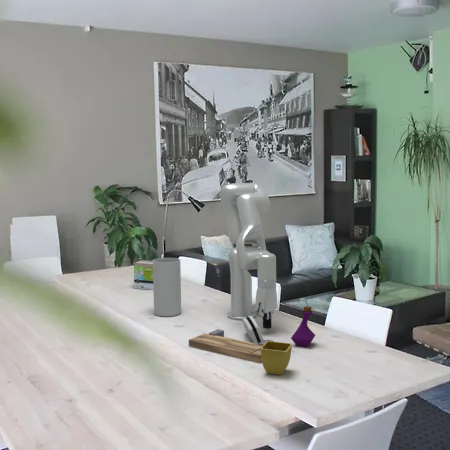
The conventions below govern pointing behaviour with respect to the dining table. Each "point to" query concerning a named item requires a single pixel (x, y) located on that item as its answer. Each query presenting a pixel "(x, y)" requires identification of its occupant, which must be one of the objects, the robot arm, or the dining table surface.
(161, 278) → the cylinder vase
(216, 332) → the locator block
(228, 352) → the wooden plank
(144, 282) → the tea box
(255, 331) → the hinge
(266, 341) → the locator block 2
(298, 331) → the perfume bottle
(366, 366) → the dining table surface
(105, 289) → the dining table surface
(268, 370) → the flower pot
